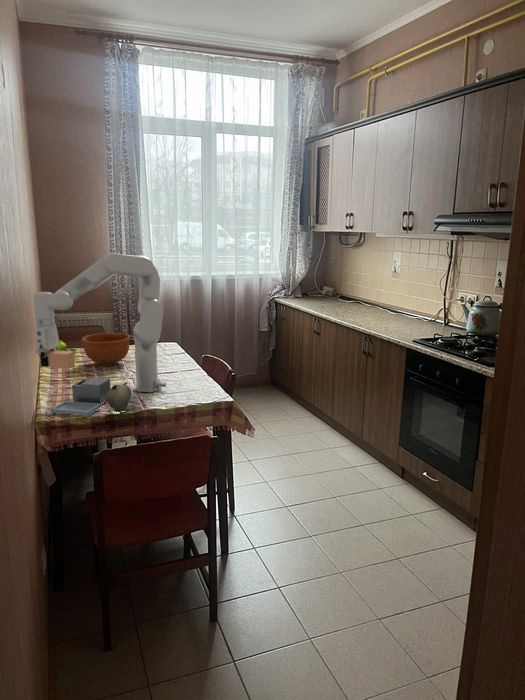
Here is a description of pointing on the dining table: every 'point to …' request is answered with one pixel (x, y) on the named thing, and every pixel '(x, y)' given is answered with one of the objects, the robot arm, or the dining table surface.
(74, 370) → the dining table surface
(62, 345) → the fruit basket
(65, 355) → the tan rectangular block
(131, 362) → the dining table surface
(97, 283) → the robot arm
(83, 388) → the dispenser
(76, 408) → the tray
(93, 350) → the bowl
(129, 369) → the dining table surface
